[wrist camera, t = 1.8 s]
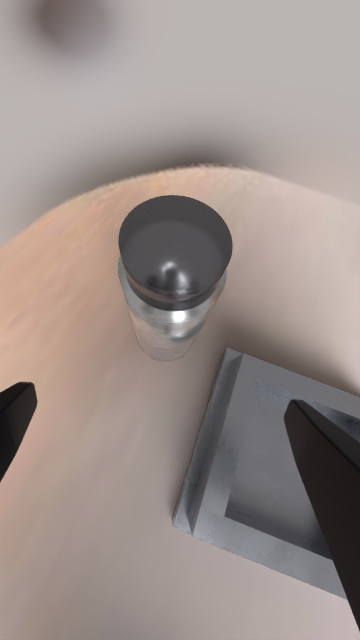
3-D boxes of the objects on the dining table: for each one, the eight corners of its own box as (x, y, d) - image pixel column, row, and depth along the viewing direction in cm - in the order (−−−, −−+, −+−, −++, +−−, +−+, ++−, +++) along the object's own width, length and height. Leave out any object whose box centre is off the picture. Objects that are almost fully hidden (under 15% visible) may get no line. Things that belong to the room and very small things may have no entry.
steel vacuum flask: (204, 343, 22) (264, 265, 10) (153, 372, 21) (148, 323, 8) (176, 297, 23) (198, 174, 11) (126, 321, 22) (89, 215, 10)
